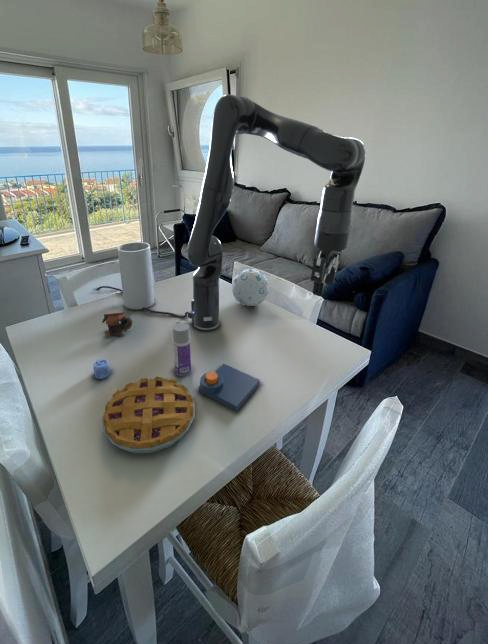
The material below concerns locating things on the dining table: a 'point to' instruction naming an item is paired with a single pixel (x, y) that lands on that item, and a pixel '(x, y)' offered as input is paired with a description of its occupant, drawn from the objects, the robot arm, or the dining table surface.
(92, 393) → the dining table surface
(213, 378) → the button
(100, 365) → the decorative dice
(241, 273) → the puzzle ball
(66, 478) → the dining table surface
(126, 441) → the pie
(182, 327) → the container
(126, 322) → the pottery mug
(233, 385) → the scale
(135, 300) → the cylinder vase
